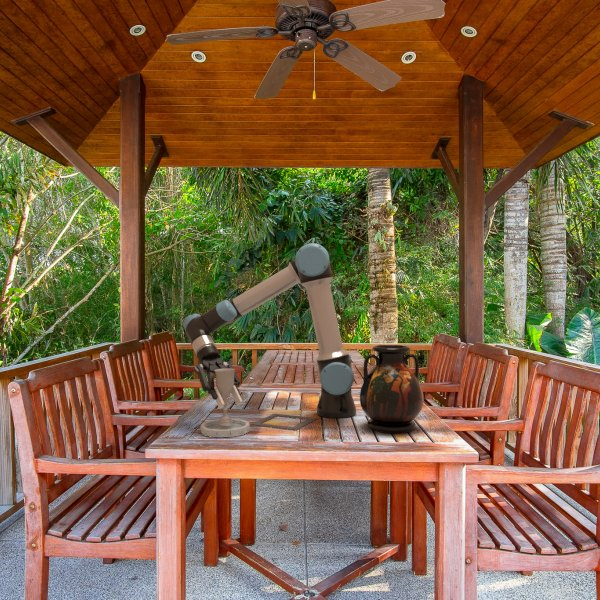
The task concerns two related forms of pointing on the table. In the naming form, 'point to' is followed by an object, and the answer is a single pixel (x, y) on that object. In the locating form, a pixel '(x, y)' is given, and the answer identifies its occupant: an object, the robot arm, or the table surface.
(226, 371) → the chalice
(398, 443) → the table surface
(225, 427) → the plate
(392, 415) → the amphora vase
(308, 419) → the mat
